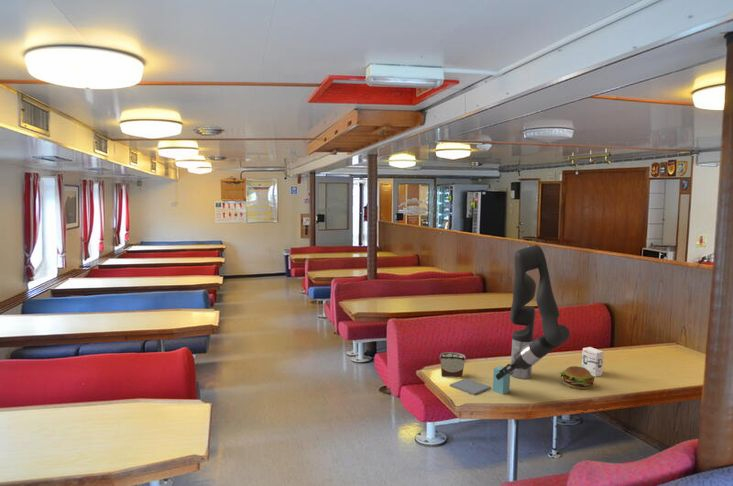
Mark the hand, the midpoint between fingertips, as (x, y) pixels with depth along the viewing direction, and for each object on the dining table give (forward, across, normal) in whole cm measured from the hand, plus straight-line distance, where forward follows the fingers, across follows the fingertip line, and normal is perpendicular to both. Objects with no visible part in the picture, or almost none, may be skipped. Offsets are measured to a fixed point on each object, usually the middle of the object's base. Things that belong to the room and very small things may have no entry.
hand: (502, 375), depth 217 cm
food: (-7, -34, +17) cm, 38 cm away
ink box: (-5, -54, +15) cm, 56 cm away
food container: (+24, +1, -14) cm, 27 cm away
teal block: (+5, 0, +5) cm, 7 cm away
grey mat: (+13, +7, -3) cm, 15 cm away
